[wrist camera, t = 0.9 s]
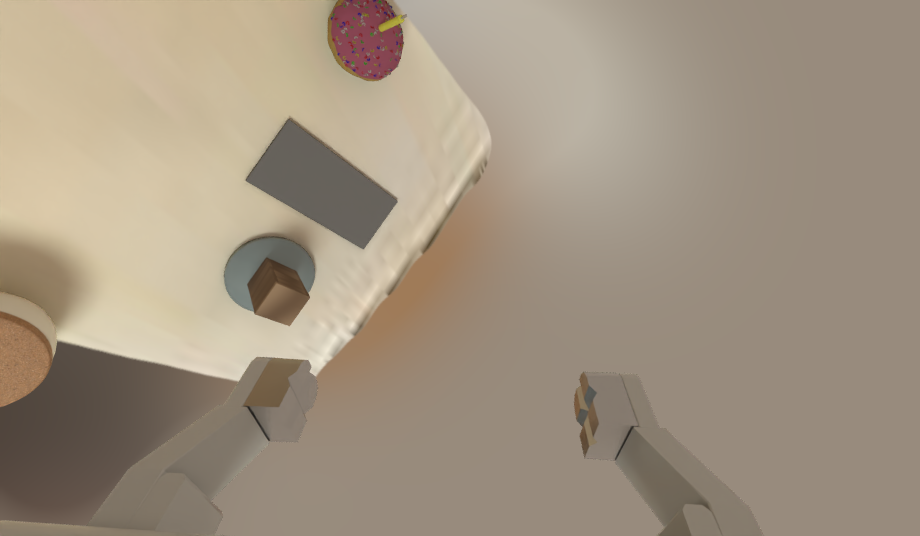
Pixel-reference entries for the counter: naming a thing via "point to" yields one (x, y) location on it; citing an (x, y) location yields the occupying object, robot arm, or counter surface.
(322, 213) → the rubber mat
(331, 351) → the counter surface
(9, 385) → the lidded jar
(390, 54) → the cupcake
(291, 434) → the robot arm
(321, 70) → the counter surface
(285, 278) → the brown rectangular block
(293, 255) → the slate saucer
